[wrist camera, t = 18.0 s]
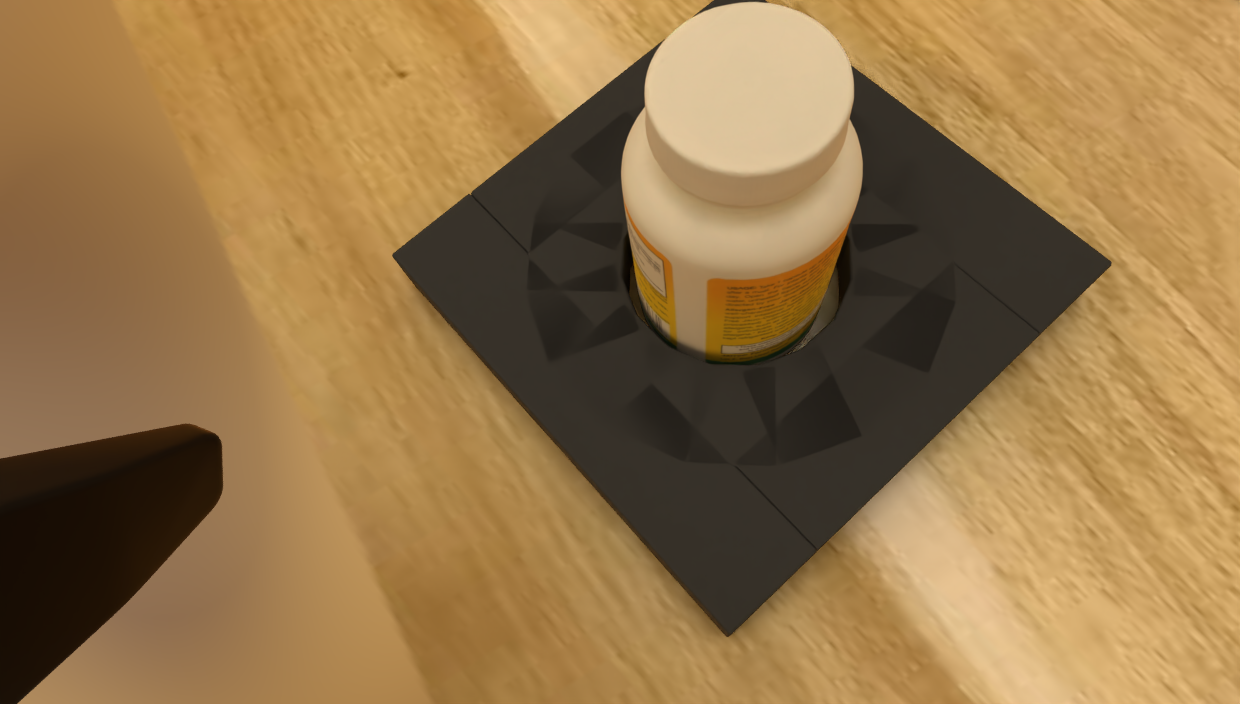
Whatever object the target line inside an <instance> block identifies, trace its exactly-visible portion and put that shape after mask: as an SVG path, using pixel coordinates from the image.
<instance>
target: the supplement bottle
mask: <svg viewBox="0 0 1240 704" xmlns="http://www.w3.org/2000/svg"><path fill="white" fill-rule="evenodd" d="M644 95H645V107H644V109H643V110H642V112H641V113H640V114H639V116H638V117H637V119H636V121H635V123H634V124H633V126H632V128H631V130H630V133H629V135H628V138H627V141H626V144H625V147H624V151H623V157H622V167H621V181H622V191H623V200H624V207H625V213H626V220H627V226H628V232H629V238H630V244H631V249H632V255H633V262H634V269H635V276H636V282H637V289H638V294H639V299H640V303H641V307H642V310H643V313H644V316H645V318H646V320H647V322H648V324H649V326H650V328H651V329H652V331H653V332H654V333H655V334H656V335H657V336H658V337H659V338H660V339H661V340H662V341H663V342H664V343H665V344H666V345H667V346H668V347H671V348H673V349H676V350H678V351H680V352H683V353H685V354H688V355H690V356H692V357H695V358H697V359H700V360H702V361H704V362H707V363H709V364H726V365H759V364H762V363H765V362H768V361H770V360H773V359H776V358H779V357H781V356H783V355H785V354H786V353H788V352H789V351H790V350H792V349H793V348H794V347H795V346H796V345H797V344H798V343H799V342H800V341H801V340H802V339H803V338H804V337H805V335H806V334H807V333H808V331H809V330H810V328H811V327H812V325H813V323H814V321H815V319H816V317H817V314H818V312H819V309H820V307H821V304H822V301H823V298H824V296H825V293H826V290H827V288H828V285H829V282H830V279H831V276H832V274H833V271H834V268H835V265H836V262H837V258H838V256H839V253H840V251H841V247H842V244H843V241H844V239H845V236H846V233H847V230H848V227H849V224H850V222H851V219H852V216H853V214H854V211H855V208H856V205H857V202H858V199H859V195H860V191H861V185H862V177H863V160H862V153H861V148H860V144H859V140H858V137H857V134H856V131H855V129H854V127H853V125H852V123H851V121H850V119H849V118H850V114H851V110H852V106H853V101H854V79H853V73H852V68H851V64H850V61H849V59H848V57H847V55H846V52H845V50H844V49H843V47H842V46H841V44H840V43H839V41H838V40H837V39H836V38H835V37H834V36H833V34H832V33H831V32H830V31H829V30H828V29H827V28H826V27H824V26H823V25H822V24H820V23H819V22H817V21H816V20H815V19H813V18H811V17H809V16H808V15H806V14H804V13H802V12H799V11H797V10H794V9H791V8H788V7H785V6H782V5H776V4H772V3H762V2H743V3H735V4H729V5H724V6H719V7H715V8H712V9H710V10H707V11H704V12H702V13H699V14H698V15H696V16H694V17H692V18H690V19H689V20H687V21H685V22H684V23H683V24H681V25H680V26H679V27H678V28H676V29H675V30H674V31H673V32H672V33H671V34H670V35H669V36H668V37H667V38H666V39H665V40H664V41H663V43H662V44H661V45H660V47H659V48H658V49H657V51H656V53H655V54H654V57H653V58H652V60H651V63H650V65H649V68H648V71H647V75H646V81H645V92H644Z"/></svg>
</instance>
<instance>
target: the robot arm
mask: <svg viewBox="0 0 1240 704" xmlns="http://www.w3.org/2000/svg"><path fill="white" fill-rule="evenodd" d="M222 490H223V468H222V444H221V440H220V439H219V437H218V436H217V435H216V434H215V433H212V432H210V431H208V430H205V429H203V428H200V427H198V426H196V425H192V424H181V425H175V426H170V427H165V428H159V429H154V430H149V431H144V432H138V433H134V434H128V435H123V436H118V437H112V438H107V439H102V440H97V441H91V442H86V443H81V444H75V445H70V446H65V447H60V448H54V449H49V450H44V451H38V452H33V453H28V454H23V455H17V456H12V457H7V458H2V459H0V704H17V703H18V702H19V701H21V700H22V699H23V698H24V697H25V696H26V695H27V694H28V693H29V692H30V691H31V690H33V689H34V688H35V687H36V686H37V685H38V684H39V683H40V682H41V681H42V680H43V679H45V678H46V677H47V676H48V675H49V674H50V673H51V672H52V671H53V670H54V669H55V668H56V667H58V666H59V665H60V664H61V663H62V662H63V661H64V660H65V659H66V658H67V657H69V656H70V655H71V654H72V653H73V652H74V651H75V650H76V649H77V648H78V647H79V646H81V645H82V644H83V643H84V642H85V641H86V640H87V639H88V638H89V637H90V636H91V635H92V634H94V633H95V632H96V631H97V630H98V629H99V628H100V627H101V626H102V625H104V624H105V623H106V622H107V621H108V620H109V619H110V618H111V617H112V616H113V615H114V614H115V613H116V612H117V611H118V610H120V609H121V607H123V606H124V605H125V604H126V603H127V602H128V601H129V600H130V598H132V596H134V595H135V594H136V592H137V591H138V590H139V589H140V588H141V587H142V586H143V585H144V584H145V583H146V582H147V581H148V580H149V579H150V578H151V576H152V575H153V574H154V573H155V572H156V571H157V570H158V569H159V567H160V566H161V565H162V564H163V563H164V562H165V561H166V560H167V559H168V557H170V555H171V554H172V553H173V552H174V551H175V550H176V549H177V548H178V547H179V546H180V544H181V543H182V542H183V541H184V540H185V539H186V538H187V537H188V536H189V535H190V533H191V532H192V531H193V530H194V529H195V528H196V527H197V526H198V525H199V524H200V522H201V521H202V520H203V519H204V518H205V517H206V516H207V515H208V514H209V512H210V511H211V510H212V509H213V508H214V507H215V505H216V504H217V502H218V500H219V499H220V496H221V494H222Z"/></svg>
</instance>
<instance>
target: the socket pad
mask: <svg viewBox="0 0 1240 704" xmlns="http://www.w3.org/2000/svg"><path fill="white" fill-rule="evenodd" d="M743 2H762V3H768V2H767V1H765V0H714V1H712V2H711V3H710V4H709V5H707V6H706V7H705V8H703V9H702V10H701V11H700V12H698V13H697V14H696V15H698V14H699V13H702V12H704V11H707V10H710V9H712V8H715V7H719V6H724V5H729V4H735V3H743ZM696 15H695V16H696ZM693 17H694V16H693ZM664 40H665V39H664ZM664 40H663V41H664ZM663 41H662V42H661V43H659V44H658V45H657V46H656V47H654V48H653V49H652V50H650V51H649V52H648V53H647V54H645V55H644V56H643V57H642V58H640V59H639V60H638V61H637V62H635V63H634V64H633V65H632V66H630V67H629V68H628V69H626V70H625V71H624V72H623V73H621V74H620V75H619V76H618V77H616V78H615V79H614V80H613V81H611V82H610V83H609V84H607V85H606V86H605V87H604V88H602V89H601V90H600V91H599V92H597V93H596V94H595V95H594V96H592V97H591V98H590V99H589V100H587V101H586V102H585V103H583V104H582V105H581V106H580V107H578V108H577V109H576V110H575V111H573V112H572V113H571V114H570V115H568V116H567V117H566V118H565V119H563V120H562V121H561V122H559V123H558V124H557V125H556V126H554V127H553V128H552V129H551V130H549V131H548V132H547V133H546V134H544V135H543V136H542V137H540V138H539V139H538V140H537V141H535V142H534V143H533V144H532V145H530V146H529V147H528V148H527V149H525V150H524V151H523V152H522V153H520V154H519V155H518V156H516V157H515V158H514V159H513V160H511V161H510V162H509V163H508V164H506V165H505V166H504V167H503V168H501V169H500V170H499V171H497V172H496V173H495V174H494V175H492V176H491V177H490V178H489V179H487V180H486V181H485V182H484V183H482V184H481V185H480V186H479V187H477V188H476V189H475V190H473V191H472V193H471V195H470V194H468V195H467V196H465V197H464V198H463V199H462V200H460V201H459V202H458V203H457V204H455V205H454V206H453V207H451V208H450V209H449V210H448V211H446V212H445V213H444V214H443V215H441V216H440V217H439V218H438V219H436V220H435V221H434V222H432V223H431V224H430V225H429V226H427V227H426V228H425V229H424V230H422V231H421V232H420V233H419V234H417V235H416V236H415V237H414V238H412V239H411V240H410V241H408V242H407V243H406V244H405V245H403V246H402V247H401V248H400V249H398V250H397V251H396V252H395V253H393V255H392V256H393V258H394V259H395V260H396V262H397V263H398V264H399V266H400V267H401V268H402V270H403V271H404V272H405V273H406V275H407V276H408V277H409V279H410V280H411V281H412V282H413V284H414V285H415V286H416V287H417V288H418V289H419V291H420V292H421V293H422V294H423V295H424V296H425V297H426V298H427V300H428V301H429V302H430V303H431V304H432V305H433V306H434V308H435V309H436V310H437V311H438V312H439V313H440V314H441V315H442V317H443V318H444V319H445V320H446V321H447V322H448V323H449V324H450V326H451V327H452V328H453V329H454V330H455V331H456V332H457V333H458V335H459V336H460V337H461V338H462V339H463V340H464V341H465V342H466V344H467V345H468V346H469V347H470V348H471V349H472V350H473V351H474V353H475V354H476V355H477V356H478V357H479V358H480V359H481V360H482V362H483V363H484V364H485V365H486V366H487V367H488V368H489V369H490V371H491V372H492V373H493V374H494V375H495V376H496V377H497V378H498V380H499V381H500V382H501V383H502V384H503V385H504V386H505V388H506V389H507V390H508V391H509V392H510V393H511V394H512V395H513V397H514V398H515V399H516V400H517V401H518V402H519V403H520V404H521V406H522V407H523V408H524V409H525V410H526V411H527V412H528V413H529V415H530V416H531V417H532V418H533V419H534V420H535V421H536V422H537V424H538V425H539V426H540V427H541V428H542V429H543V430H544V431H545V433H546V434H547V435H548V436H549V437H550V438H551V439H552V440H553V442H554V443H555V444H556V445H557V446H558V447H559V448H560V449H561V451H562V452H563V453H564V454H565V455H566V456H567V457H568V458H569V460H570V461H571V462H572V463H573V464H574V465H575V466H576V467H577V469H578V470H579V471H580V472H581V473H582V474H583V475H584V477H585V478H586V479H587V480H588V481H589V482H590V483H591V484H592V486H593V487H594V488H595V489H596V490H597V491H598V492H599V493H600V495H601V496H602V497H603V498H604V499H605V500H606V501H607V502H608V504H609V505H610V506H611V507H612V508H613V509H614V510H615V511H616V513H617V514H618V515H619V516H620V517H621V518H622V519H623V520H624V522H625V523H626V524H627V525H628V526H629V527H630V528H631V529H632V531H633V532H634V533H635V534H636V535H637V536H638V537H639V538H640V540H641V541H642V542H643V543H644V544H645V545H646V546H647V547H648V549H649V550H650V551H651V552H652V553H653V554H654V555H655V557H656V558H657V559H658V560H659V561H660V562H661V563H662V564H663V566H664V567H665V568H666V569H667V570H668V571H669V572H670V573H671V575H672V576H673V577H674V578H675V579H676V580H677V581H678V582H679V584H680V585H681V586H682V587H683V588H684V589H685V590H686V591H687V593H688V594H689V595H690V596H691V597H692V598H693V599H694V600H695V602H696V603H697V604H698V605H699V606H700V607H701V608H702V609H703V611H704V612H705V613H706V614H707V615H708V616H709V617H710V618H711V620H712V621H713V622H714V623H715V624H716V625H717V626H718V627H719V629H720V630H721V631H722V632H723V633H724V634H725V635H726V636H727V637H728V636H730V635H731V634H732V633H733V632H735V631H736V630H737V629H738V628H739V627H740V626H741V625H742V624H743V623H744V622H745V621H746V620H747V619H748V618H749V617H750V616H751V615H752V614H753V613H754V612H755V611H756V610H757V609H758V608H759V607H760V606H761V605H762V604H763V603H764V602H765V601H766V600H767V599H768V598H769V597H771V596H772V595H773V594H774V593H775V592H776V591H777V590H778V589H779V588H780V587H781V586H782V585H783V584H784V583H785V582H786V581H787V580H788V579H789V578H790V577H791V576H792V575H793V574H794V573H795V572H796V571H797V570H798V569H799V568H800V567H801V566H802V565H803V564H804V563H805V562H807V561H808V560H809V559H810V558H811V557H812V556H813V555H814V554H815V553H816V552H817V551H818V550H819V549H820V548H821V547H822V546H823V545H824V544H825V543H826V542H827V541H828V540H829V539H830V538H831V537H832V536H833V535H834V534H835V533H836V532H837V531H838V530H839V529H840V528H842V527H843V526H844V525H845V524H846V523H847V522H848V521H849V520H850V519H851V518H852V517H853V516H854V515H855V514H856V513H857V512H858V511H859V510H860V509H861V508H862V507H863V506H864V505H865V504H866V503H867V502H868V501H869V500H870V499H871V498H872V497H873V496H874V495H875V494H876V493H878V492H879V491H880V490H881V489H882V488H883V487H884V486H885V485H886V484H887V483H888V482H889V481H890V480H891V479H892V478H893V477H894V476H895V475H896V474H897V473H898V472H899V471H900V470H901V469H902V468H903V467H904V466H905V465H906V464H907V463H908V462H909V461H910V460H911V459H912V458H914V457H915V456H916V455H917V454H918V453H919V452H920V451H921V450H922V449H923V448H924V447H925V446H926V445H927V444H928V443H929V442H930V441H931V440H932V439H933V438H934V437H935V436H936V435H937V434H938V433H939V432H940V431H941V430H942V429H943V428H944V427H945V426H946V425H947V424H948V423H950V422H951V421H952V420H953V419H954V418H955V417H956V416H957V415H958V414H959V413H960V412H961V411H962V410H963V409H964V408H965V407H966V406H967V405H968V404H969V403H970V402H971V401H972V400H973V399H974V398H975V397H976V396H977V395H978V394H979V393H980V392H981V391H982V390H983V389H984V388H986V387H987V386H988V385H989V384H990V383H991V382H992V381H993V380H994V379H995V378H996V377H997V376H998V375H999V374H1000V373H1001V372H1002V371H1003V370H1004V369H1005V368H1006V367H1007V366H1008V365H1009V364H1010V363H1011V362H1012V361H1013V360H1014V359H1015V358H1016V357H1017V356H1018V355H1019V354H1020V353H1022V352H1023V351H1024V350H1025V349H1026V348H1027V347H1028V346H1029V345H1030V344H1031V343H1032V342H1033V341H1034V340H1035V339H1036V338H1037V337H1038V336H1039V335H1040V334H1041V333H1042V332H1043V331H1044V330H1045V329H1046V328H1047V327H1048V326H1049V325H1050V324H1051V323H1052V322H1053V321H1054V320H1055V319H1056V318H1058V317H1059V316H1060V315H1061V314H1062V313H1063V312H1064V311H1065V310H1066V309H1067V308H1068V307H1069V306H1070V305H1071V304H1072V303H1073V302H1074V301H1075V300H1076V299H1077V298H1078V297H1079V296H1080V295H1081V294H1082V293H1083V292H1084V291H1085V290H1086V289H1087V288H1088V287H1089V286H1090V285H1091V284H1092V283H1094V282H1095V281H1096V280H1097V279H1098V278H1099V277H1100V276H1101V275H1102V274H1103V273H1104V272H1105V271H1106V270H1107V269H1108V268H1109V267H1110V266H1111V261H1110V260H1108V259H1107V258H1106V257H1104V256H1103V255H1102V254H1100V253H1099V252H1098V251H1096V250H1095V249H1094V248H1092V247H1091V246H1090V245H1089V244H1087V243H1086V242H1085V241H1083V240H1082V239H1081V238H1079V237H1078V236H1077V235H1075V234H1074V233H1073V232H1071V231H1070V230H1069V229H1067V228H1066V227H1065V226H1063V225H1062V224H1061V223H1059V222H1058V221H1057V220H1055V219H1054V218H1053V217H1051V216H1050V215H1049V214H1047V213H1046V212H1045V211H1043V210H1042V209H1041V208H1040V207H1038V206H1037V205H1036V204H1034V203H1033V202H1032V201H1030V200H1029V199H1028V198H1026V197H1025V196H1024V195H1022V194H1021V193H1020V192H1018V191H1017V190H1016V189H1014V188H1013V187H1012V186H1010V185H1009V184H1008V183H1006V182H1005V181H1004V180H1002V179H1001V178H1000V177H998V176H997V175H996V174H994V173H993V172H992V171H991V170H989V169H988V168H987V167H985V166H984V165H983V164H981V163H980V162H979V161H977V160H976V159H975V158H973V157H972V156H971V155H969V154H968V153H967V152H965V151H964V150H963V149H961V148H960V147H959V146H957V145H956V144H955V143H953V142H952V141H951V140H949V139H948V138H947V137H945V136H944V135H943V134H942V133H940V132H939V131H938V130H936V129H935V128H934V127H932V126H931V125H930V124H928V123H927V122H926V121H924V120H923V119H922V118H920V117H919V116H918V115H916V114H915V113H914V112H912V111H911V110H910V109H908V108H907V107H906V106H904V105H903V104H902V103H900V102H899V101H898V100H896V99H895V98H894V97H893V96H891V95H890V94H889V93H887V92H886V91H885V90H883V89H882V88H881V87H879V86H878V85H877V84H875V83H874V82H873V81H871V80H870V79H869V78H867V77H866V76H865V75H863V74H862V73H861V72H859V71H858V70H857V69H855V68H854V67H853V66H851V68H852V73H853V79H854V101H853V106H852V110H851V114H850V118H849V119H850V121H851V123H852V125H853V127H854V129H855V131H856V134H857V137H858V140H859V144H860V148H861V153H862V160H863V177H862V185H861V191H860V195H859V199H858V202H857V205H856V208H855V211H854V214H853V216H852V219H851V222H850V224H849V227H848V230H847V233H846V236H845V239H844V241H843V244H842V247H841V251H840V253H839V256H838V258H837V262H836V266H837V268H838V272H839V300H840V306H839V308H838V311H837V313H836V315H835V318H834V320H833V321H832V322H830V323H829V324H828V325H827V326H826V327H825V328H824V329H823V330H822V331H821V332H820V333H818V334H817V335H816V336H815V337H814V338H813V339H812V340H811V341H810V342H809V343H807V344H806V345H805V346H804V347H803V348H802V349H801V350H798V351H795V352H793V353H790V354H787V355H784V356H781V357H779V358H776V359H773V360H770V361H768V362H765V363H762V364H759V365H726V364H709V363H707V362H704V361H702V360H700V359H697V358H695V357H692V356H690V355H688V354H685V353H683V352H680V351H678V350H676V349H673V348H671V347H668V346H667V345H666V344H665V343H664V342H663V341H662V340H661V339H660V338H659V337H658V336H657V335H656V334H655V333H654V332H653V331H652V330H651V329H650V328H649V327H648V326H647V325H646V324H645V323H644V322H643V321H642V320H641V319H640V318H639V317H638V316H637V314H636V311H635V309H634V306H633V303H632V301H631V298H630V296H629V285H630V269H631V266H632V264H633V255H632V249H631V244H630V238H629V232H628V226H627V220H626V213H625V207H624V200H623V191H622V181H621V167H622V157H623V151H624V147H625V144H626V141H627V138H628V135H629V133H630V130H631V128H632V126H633V124H634V123H635V121H636V119H637V117H638V116H639V114H640V113H641V112H642V110H643V109H644V107H645V95H644V92H645V81H646V75H647V71H648V68H649V65H650V63H651V60H652V58H653V57H654V54H655V53H656V51H657V49H658V48H659V47H660V45H661V44H662V43H663Z"/></svg>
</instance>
